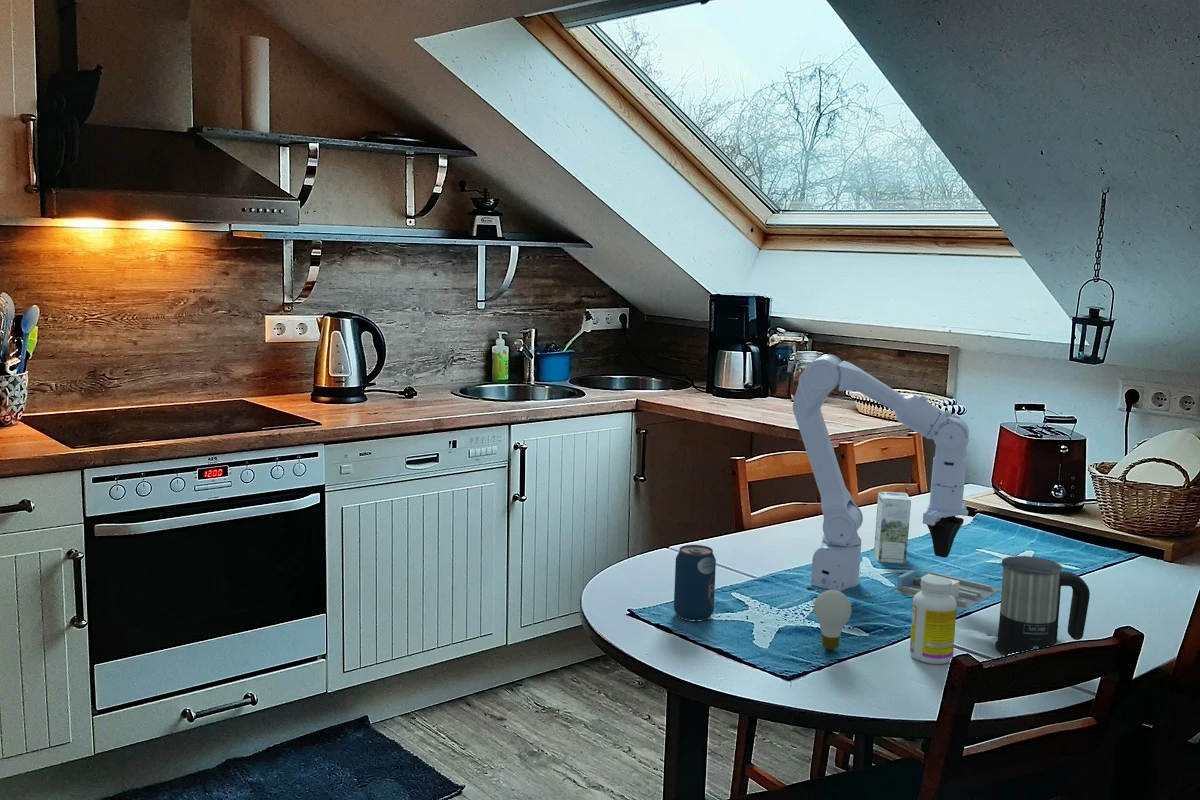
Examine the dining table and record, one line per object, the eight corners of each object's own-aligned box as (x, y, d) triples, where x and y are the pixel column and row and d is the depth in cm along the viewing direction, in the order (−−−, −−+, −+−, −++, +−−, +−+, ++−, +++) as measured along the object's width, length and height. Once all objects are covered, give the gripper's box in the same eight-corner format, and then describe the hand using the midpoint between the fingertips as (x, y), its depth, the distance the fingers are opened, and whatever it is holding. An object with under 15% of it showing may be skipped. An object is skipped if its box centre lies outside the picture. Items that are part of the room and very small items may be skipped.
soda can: (718, 622, 185) (721, 554, 183) (679, 624, 184) (682, 556, 182) (706, 608, 192) (709, 543, 190) (668, 610, 190) (671, 544, 189)
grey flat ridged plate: (965, 615, 192) (966, 596, 191) (892, 596, 201) (893, 578, 200) (1000, 594, 204) (1001, 576, 203) (929, 577, 213) (930, 560, 212)
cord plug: (951, 600, 196) (953, 584, 196) (910, 590, 202) (911, 574, 201) (958, 596, 198) (959, 581, 198) (917, 586, 204) (918, 571, 203)
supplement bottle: (961, 661, 171) (968, 583, 169) (931, 668, 167) (938, 589, 166) (929, 646, 176) (935, 571, 175) (900, 653, 173) (905, 576, 171)
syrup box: (901, 559, 224) (906, 491, 222) (906, 568, 218) (911, 498, 216) (873, 558, 225) (877, 490, 222) (877, 566, 219) (882, 497, 217)
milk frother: (1017, 664, 170) (1025, 574, 168) (959, 628, 185) (965, 545, 183) (1093, 657, 174) (1102, 568, 172) (1030, 623, 189) (1037, 541, 187)
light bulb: (843, 643, 177) (847, 585, 175) (852, 657, 171) (856, 597, 169) (807, 643, 177) (811, 584, 175) (815, 657, 171) (819, 596, 169)
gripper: (952, 494, 188) (945, 569, 190) (985, 481, 199) (978, 552, 201) (914, 487, 193) (908, 560, 195) (948, 475, 204) (942, 544, 206)
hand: (941, 556), depth 198 cm, fingers closed
